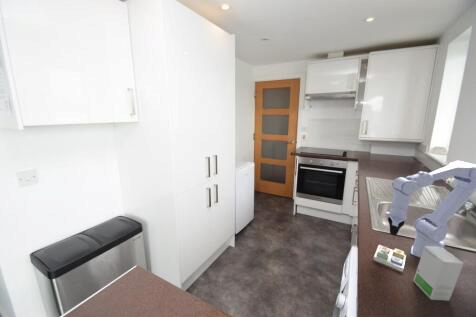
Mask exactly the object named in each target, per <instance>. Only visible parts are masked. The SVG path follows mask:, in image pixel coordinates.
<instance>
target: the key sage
mask: <svg viewBox="0 0 476 317" xmlns="http://www.w3.org/2000/svg"><path fill="white" fill-rule="evenodd" d="M387 255H388V251H385V250H383V249H380V248H379V251H378V255H377V256H378V257H380V258H383V259H385V260H386V259H387Z"/></svg>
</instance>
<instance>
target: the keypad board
mask: <svg viewBox="0 0 476 317" xmlns="http://www.w3.org/2000/svg"><path fill="white" fill-rule="evenodd" d="M380 247H381V244H378V246H377V248H376V251H375V253H374V255H373V260H372V261H373V262H376V263H379V265H380V264H381V265H382V266H385V267H388V268H390V269H391V270H395V271H397V272H399V273H402V274H403V272H404V270H405V262H406V258H407V254H405V253H404V255H403V259H402V264H401V266H400V265H397V264H395V263H393V262H392V258H393V254H394V250H395V249H392V248H390V249H389V253H388V255H387V259H386V260H385V259H383V258H380V257H378V256H377V255H378V251H379V248H380Z"/></svg>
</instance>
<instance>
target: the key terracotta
mask: <svg viewBox="0 0 476 317" xmlns="http://www.w3.org/2000/svg"><path fill="white" fill-rule="evenodd" d="M380 245H381V244H380ZM380 249H383V250H385V251H388V253H389V249H391V248H389V247H387V246H384V245H383V244H382V245H381V247H380Z"/></svg>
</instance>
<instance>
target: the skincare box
mask: <svg viewBox="0 0 476 317" xmlns="http://www.w3.org/2000/svg"><path fill="white" fill-rule="evenodd" d="M464 264H465V263H464V262H463V261H461V260H460V259H459V258H457V257H455V255H454V254H453V253H452V252H449V251H447V250H446V249H445V247H444V248H442V247H435V246H424V249H423V252H422V255H421V258H420V259H419V263H418V265H417V267H416V272H415V275H414V278H413V281H412V282H414V283H415V284H416V286H417V287H418V288H419V289H420V290H421V291H422V292H423V293H424V295H426V297H428V298H429V299H430V300H431V301H447V302H449V301H450V299H451V298H452V295H453V292H454V289H455V287H456V284H457V282H458V279H459V277H460V274H461V272H462V270H463V269H462V268H463V266H464Z"/></svg>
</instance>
